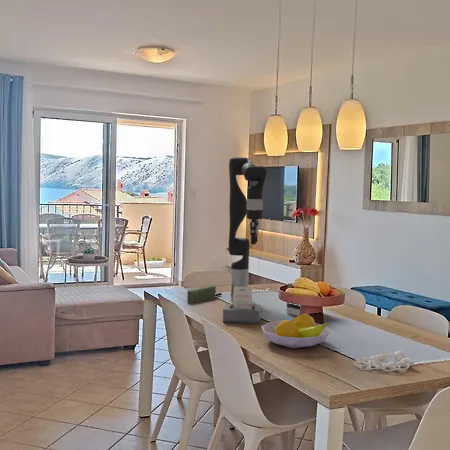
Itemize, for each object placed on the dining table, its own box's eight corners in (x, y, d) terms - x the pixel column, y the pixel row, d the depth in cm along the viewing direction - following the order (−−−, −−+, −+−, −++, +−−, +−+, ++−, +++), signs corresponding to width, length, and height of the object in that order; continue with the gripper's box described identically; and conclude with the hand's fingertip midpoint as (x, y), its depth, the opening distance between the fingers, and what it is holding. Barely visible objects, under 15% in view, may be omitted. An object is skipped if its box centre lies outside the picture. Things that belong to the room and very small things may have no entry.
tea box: (301, 317, 262) (302, 286, 261) (285, 313, 270) (286, 283, 269) (322, 312, 272) (323, 282, 271) (306, 309, 280) (307, 279, 278)
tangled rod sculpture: (363, 379, 186) (363, 367, 185) (348, 361, 200) (349, 350, 199) (419, 375, 188) (419, 363, 187) (400, 358, 202) (401, 347, 201)
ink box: (252, 316, 258) (252, 285, 257) (251, 319, 254) (251, 287, 252) (233, 316, 259) (233, 284, 258) (232, 318, 255) (232, 286, 253)
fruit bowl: (250, 337, 228) (250, 310, 227) (308, 331, 238) (308, 305, 237) (282, 358, 202) (282, 327, 201) (346, 350, 212) (346, 321, 211)
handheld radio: (186, 303, 292) (218, 295, 311) (190, 304, 290) (222, 296, 309) (186, 290, 291) (219, 283, 310) (191, 291, 289) (223, 284, 308)
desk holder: (226, 316, 263) (226, 303, 263) (260, 317, 261) (260, 305, 260) (222, 322, 251) (223, 309, 251) (258, 324, 249) (258, 311, 249)
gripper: (248, 208, 270) (247, 241, 271) (245, 209, 256) (244, 244, 257) (263, 208, 269) (263, 242, 270) (261, 209, 255) (261, 245, 256)
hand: (254, 243), depth 264 cm, fingers open, 8 cm apart
